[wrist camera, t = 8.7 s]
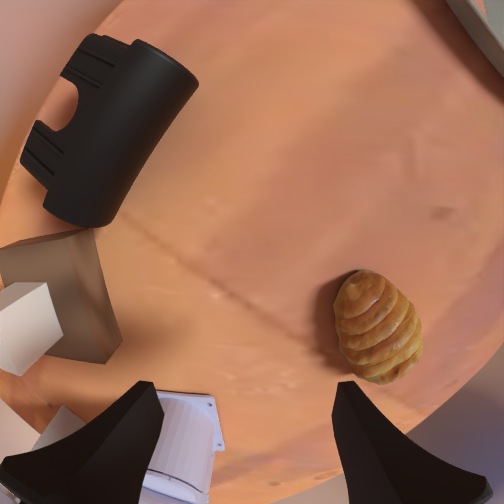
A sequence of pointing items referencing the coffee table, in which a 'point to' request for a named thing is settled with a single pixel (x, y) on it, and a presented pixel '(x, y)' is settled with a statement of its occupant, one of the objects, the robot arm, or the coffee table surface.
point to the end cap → (106, 127)
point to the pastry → (376, 328)
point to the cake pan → (483, 27)
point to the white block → (26, 325)
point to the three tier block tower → (55, 433)
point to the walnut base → (68, 290)
